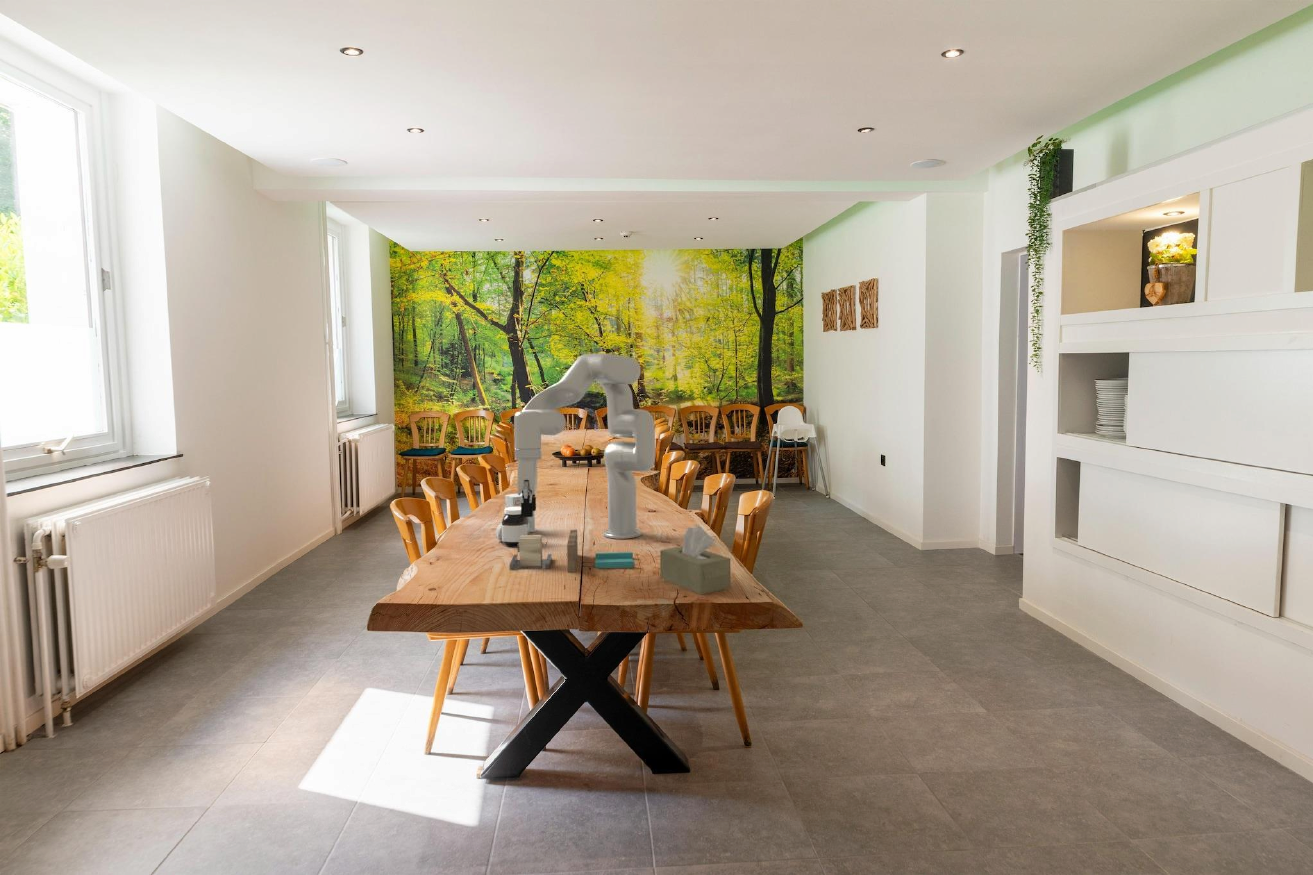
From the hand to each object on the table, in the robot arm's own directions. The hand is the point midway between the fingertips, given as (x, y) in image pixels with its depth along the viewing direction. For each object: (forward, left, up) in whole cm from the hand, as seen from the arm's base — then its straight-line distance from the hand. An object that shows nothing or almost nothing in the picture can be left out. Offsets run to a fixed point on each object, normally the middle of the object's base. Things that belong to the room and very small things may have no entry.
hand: (528, 513), depth 233 cm
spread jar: (-29, -9, -15) cm, 34 cm away
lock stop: (0, 0, -15) cm, 15 cm away
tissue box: (+23, +45, -16) cm, 53 cm away
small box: (-46, -8, -15) cm, 49 cm away
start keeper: (0, 0, -15) cm, 15 cm away
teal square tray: (0, +24, -15) cm, 29 cm away
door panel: (0, +12, -15) cm, 20 cm away
